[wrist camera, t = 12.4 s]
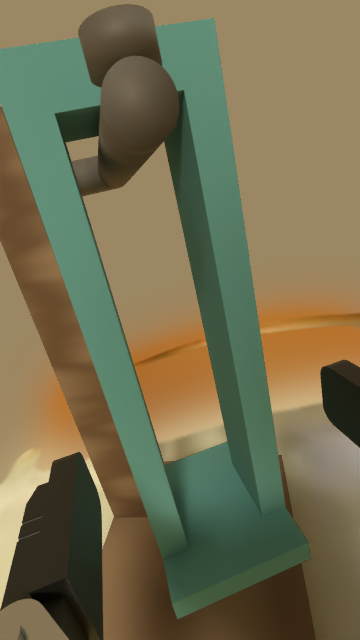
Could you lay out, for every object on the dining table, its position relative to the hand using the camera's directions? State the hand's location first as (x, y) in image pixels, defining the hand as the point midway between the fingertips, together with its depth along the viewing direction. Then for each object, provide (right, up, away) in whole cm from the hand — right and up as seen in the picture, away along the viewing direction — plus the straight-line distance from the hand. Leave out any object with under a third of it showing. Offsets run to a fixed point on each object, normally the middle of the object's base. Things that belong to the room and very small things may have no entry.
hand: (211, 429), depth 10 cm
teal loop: (+1, -7, +6) cm, 9 cm away
